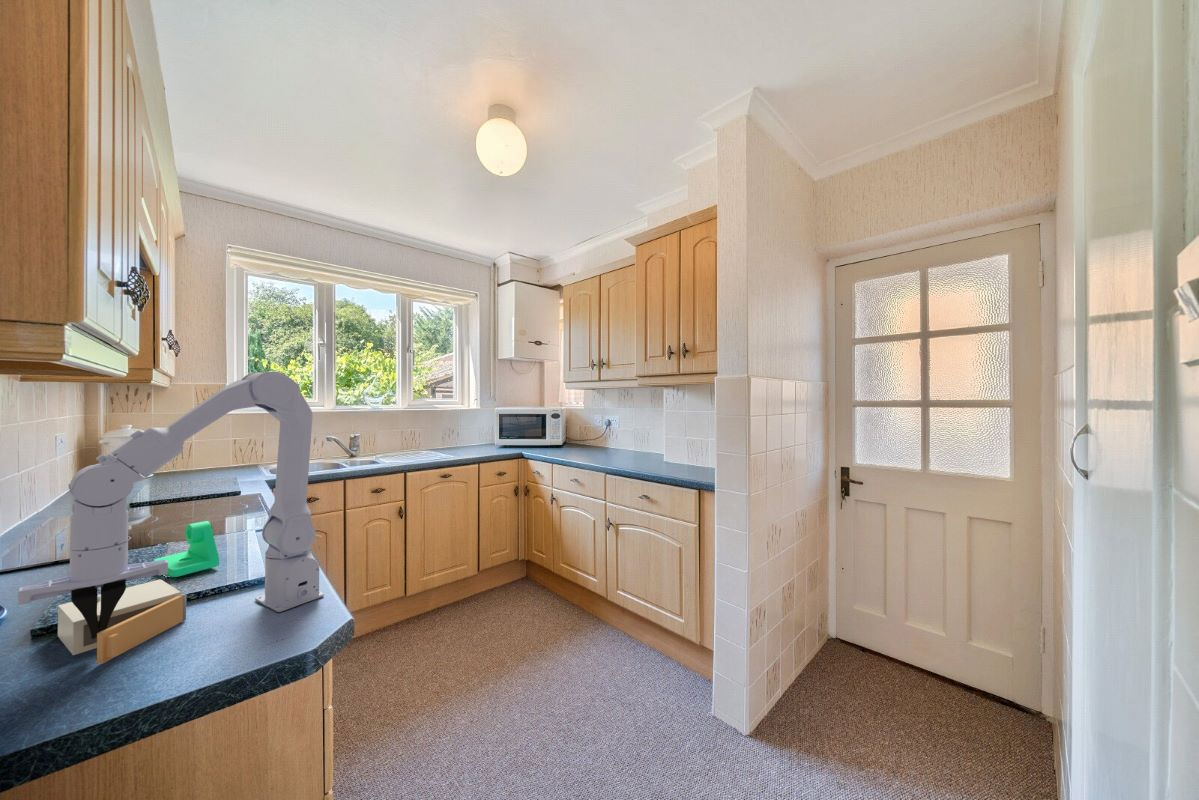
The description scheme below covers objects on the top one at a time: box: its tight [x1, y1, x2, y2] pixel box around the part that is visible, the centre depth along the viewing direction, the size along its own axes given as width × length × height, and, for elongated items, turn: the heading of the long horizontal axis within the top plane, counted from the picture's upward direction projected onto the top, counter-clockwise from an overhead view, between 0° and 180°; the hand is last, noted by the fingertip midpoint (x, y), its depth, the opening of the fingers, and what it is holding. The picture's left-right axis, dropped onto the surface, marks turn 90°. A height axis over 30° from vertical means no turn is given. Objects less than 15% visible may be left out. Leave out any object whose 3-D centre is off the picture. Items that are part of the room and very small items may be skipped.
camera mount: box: [153, 520, 220, 578], centre depth 97 cm, size 12×8×10 cm, turn 61°
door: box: [96, 593, 187, 665], centre depth 69 cm, size 13×2×4 cm, turn 0°
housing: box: [57, 579, 182, 656], centre depth 73 cm, size 11×12×6 cm
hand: (98, 634), depth 65 cm, fingers closed
